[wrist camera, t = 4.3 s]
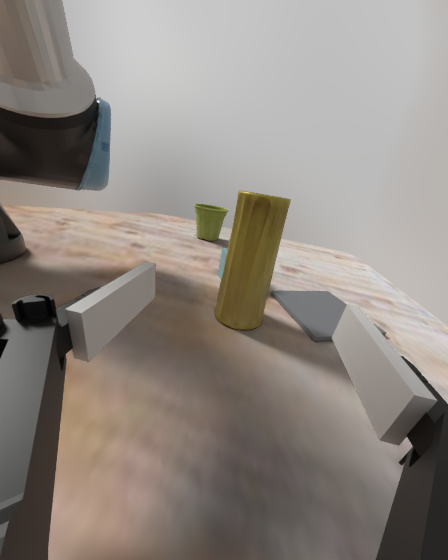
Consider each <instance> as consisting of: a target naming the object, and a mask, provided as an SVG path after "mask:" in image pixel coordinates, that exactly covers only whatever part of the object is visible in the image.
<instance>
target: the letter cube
mask: <svg viewBox="0 0 448 560" xmlns="http://www.w3.org/2000/svg"><path fill="white" fill-rule="evenodd" d="M227 250H228V248H222V252H221V259H220V265H219V272H218V275H219V277H220V279H222V275H223V271H224V265H225V259H226V254H227Z"/></svg>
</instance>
